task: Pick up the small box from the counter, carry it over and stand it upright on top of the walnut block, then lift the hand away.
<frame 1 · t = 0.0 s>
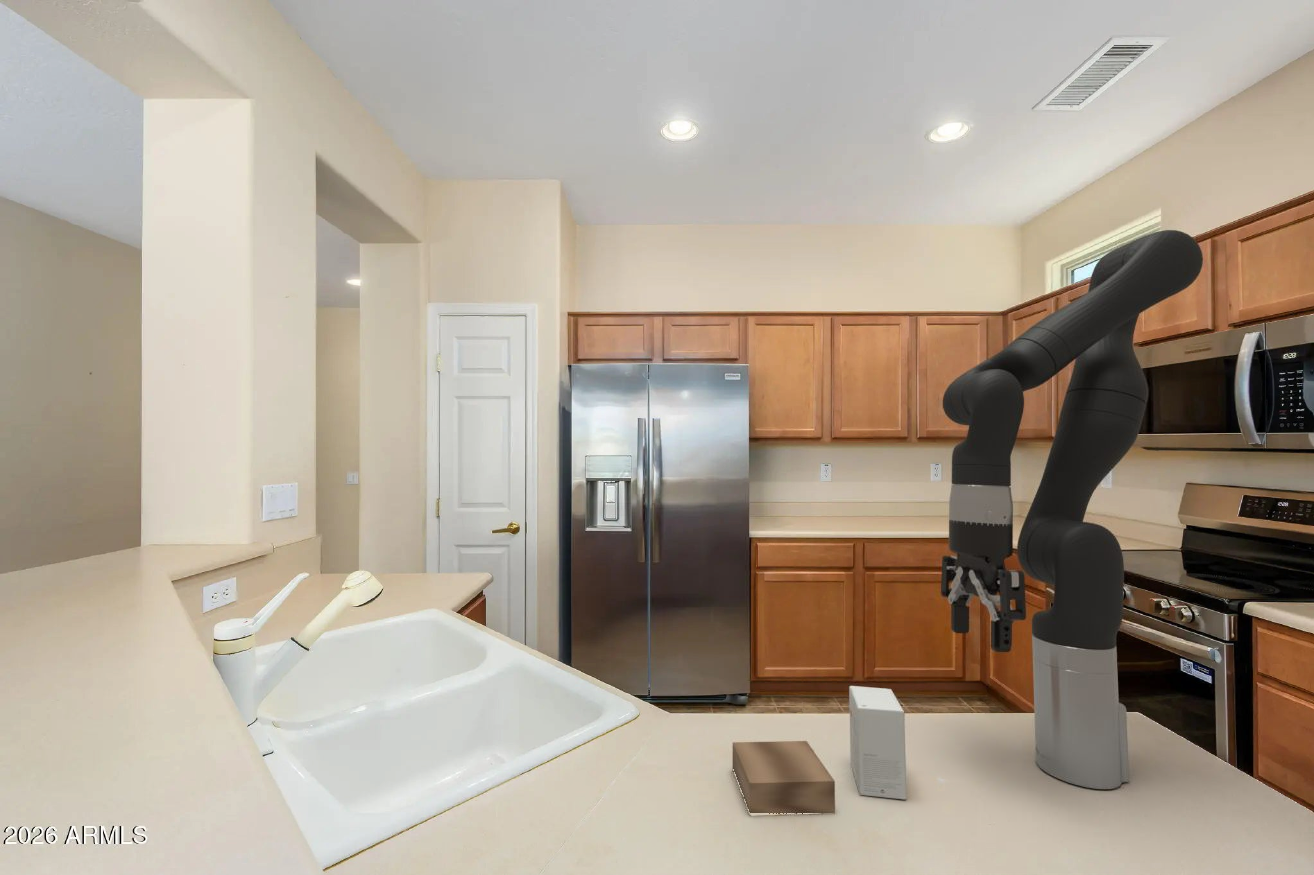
hand: (979, 641, 76), 17 cm above the counter, tool pointing down, fingers open, 8 cm apart
small box: (876, 783, 73), on the counter
walnut block: (780, 793, 71), on the counter
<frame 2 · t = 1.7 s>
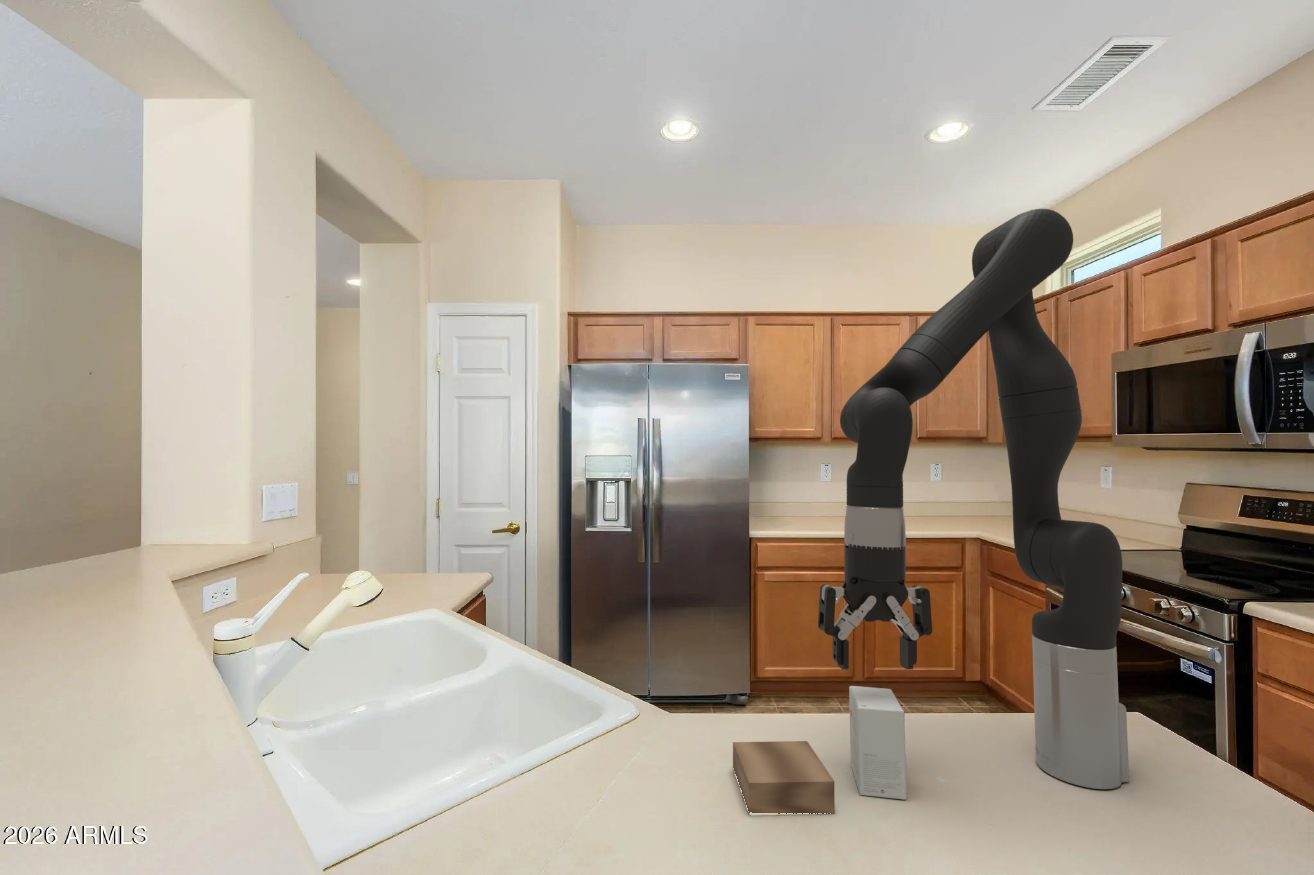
hand: (874, 667, 74), 14 cm above the counter, tool pointing down, fingers open, 8 cm apart
nothing on the counter moved.
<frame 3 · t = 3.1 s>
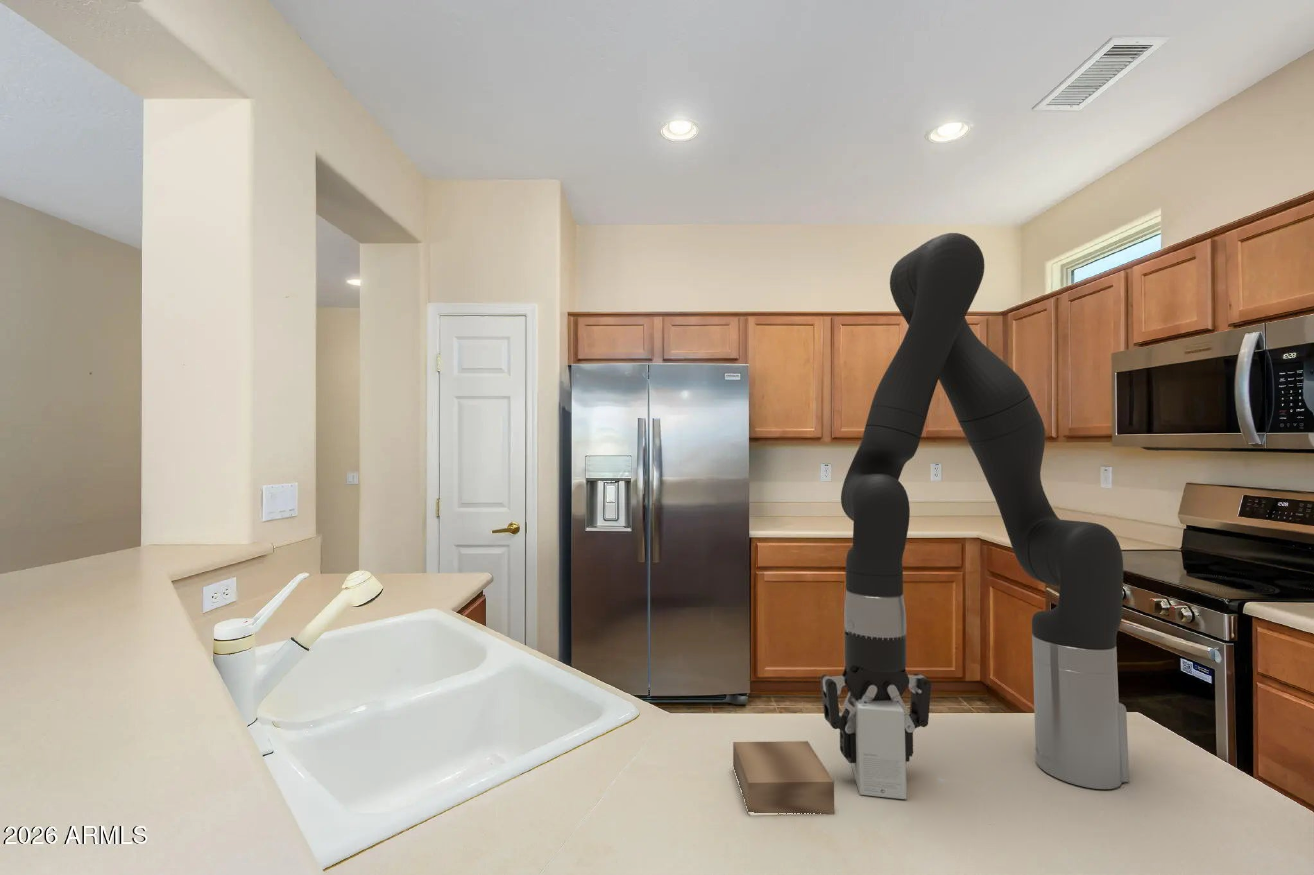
hand: (876, 759, 73), 3 cm above the counter, tool pointing down, fingers closed on small box, 6 cm apart
small box: (876, 783, 73), on the counter, touching gripper
everything else where it was.
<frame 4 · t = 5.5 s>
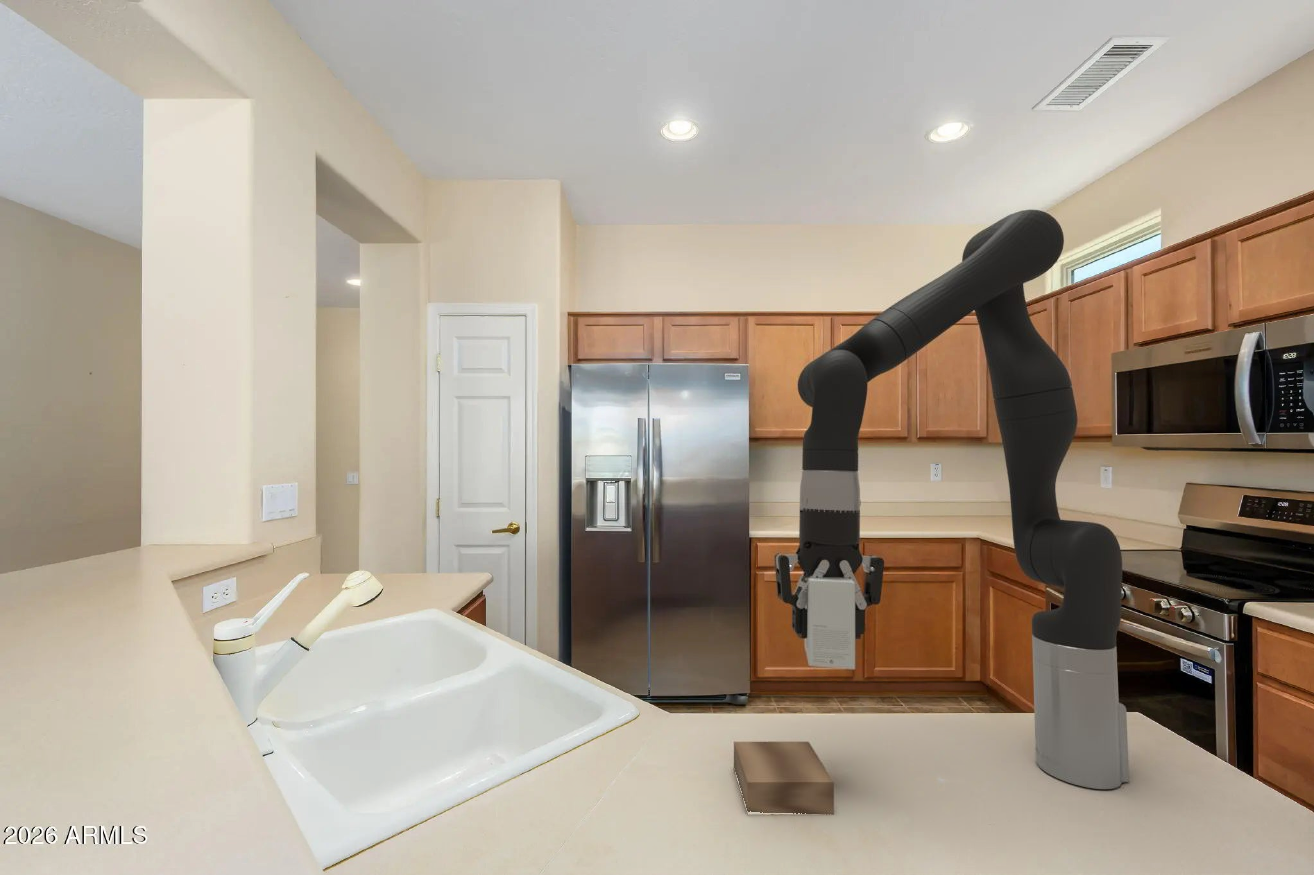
hand: (827, 636, 73), 18 cm above the counter, tool pointing down, fingers closed on small box, 6 cm apart
small box: (828, 660, 73), point 15 cm above the counter, touching gripper
everything else where it was.
when the fingers open (8 cm above the counter, at t = 7.8 s): small box drops 2 cm, resting on walnut block.
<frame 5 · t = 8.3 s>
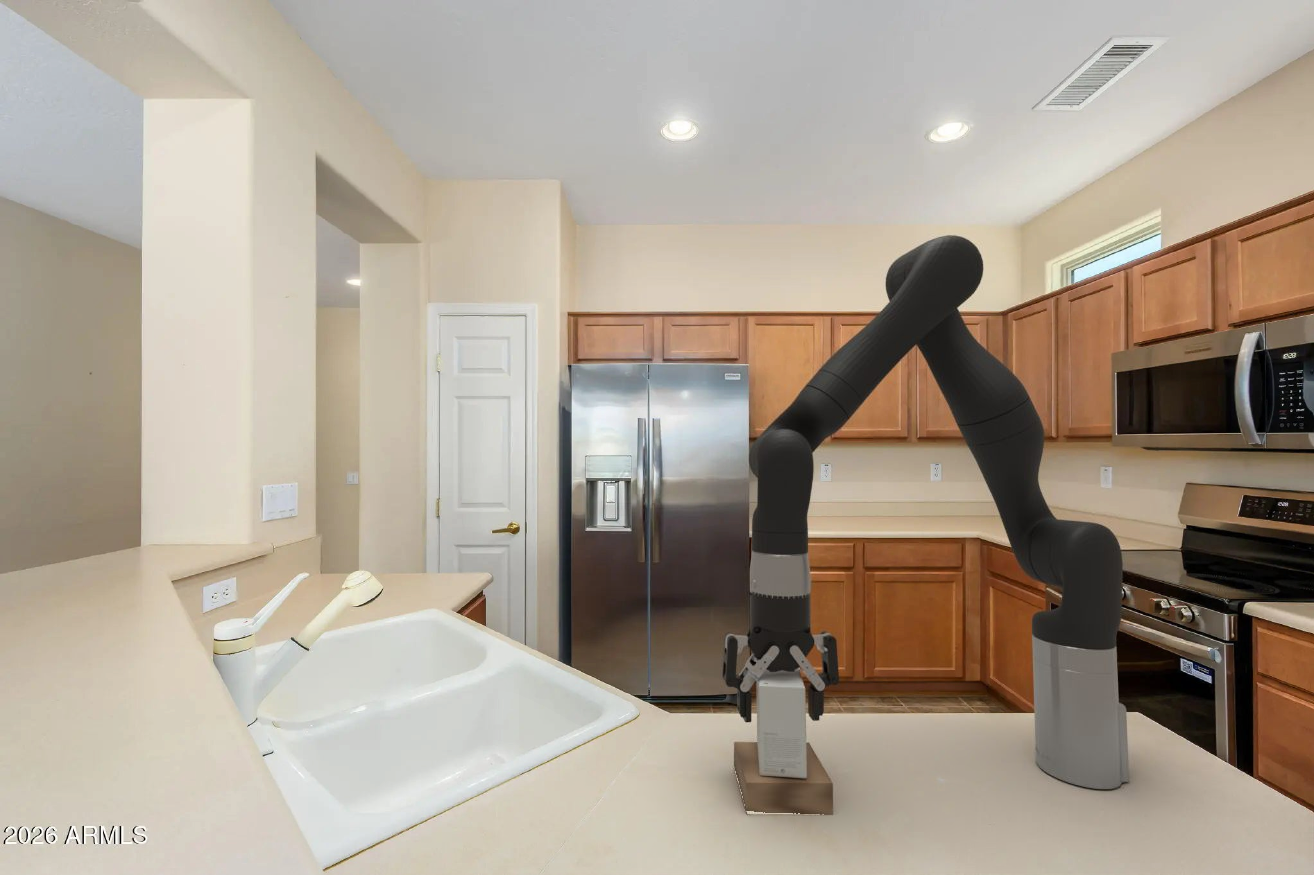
hand: (780, 719, 71), 9 cm above the counter, tool pointing down, fingers open, 8 cm apart
small box: (780, 763, 71), point 3 cm above the counter, touching walnut block
walnut block: (780, 794, 71), on the counter, touching small box
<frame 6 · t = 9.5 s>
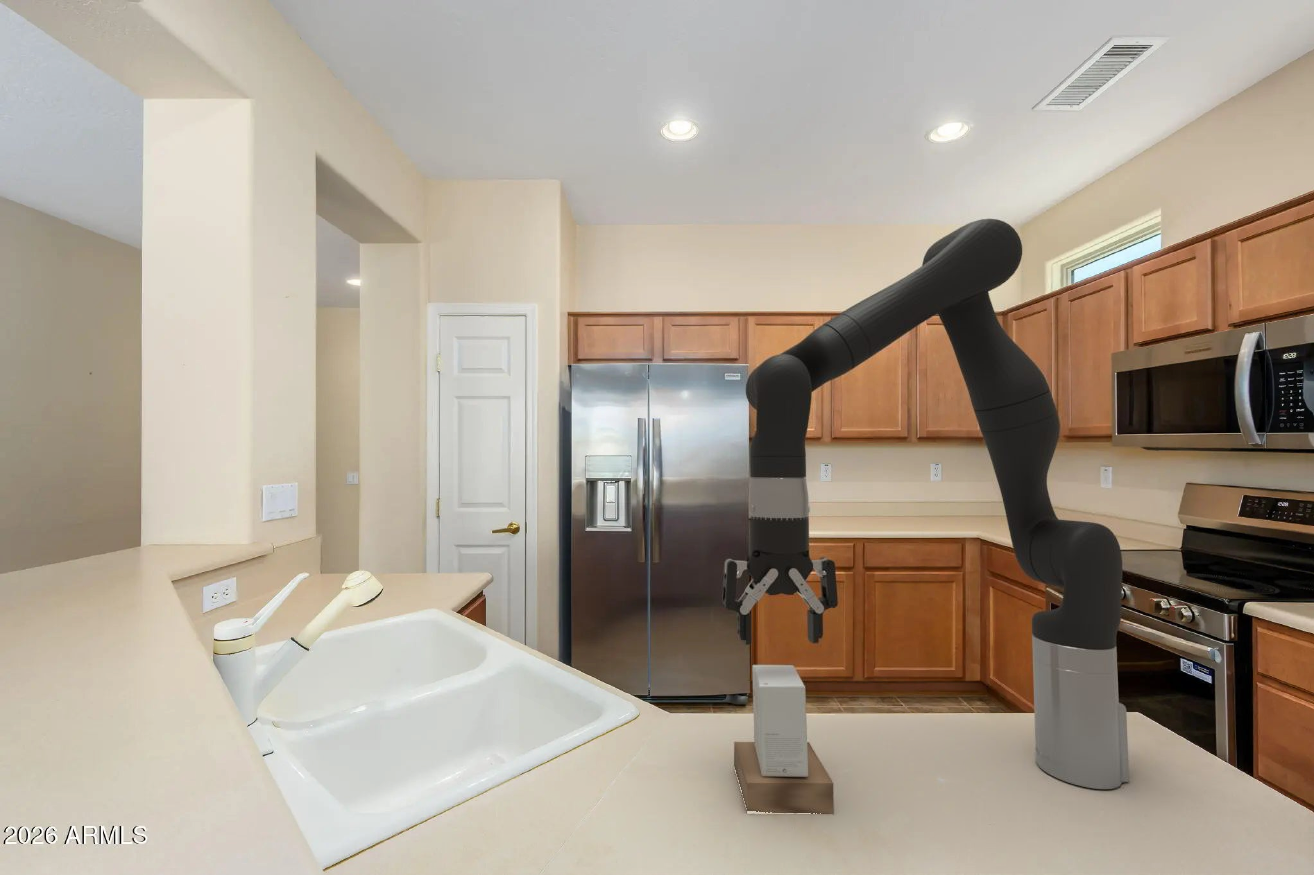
hand: (779, 642, 72), 18 cm above the counter, tool pointing down, fingers open, 8 cm apart
nothing on the counter moved.
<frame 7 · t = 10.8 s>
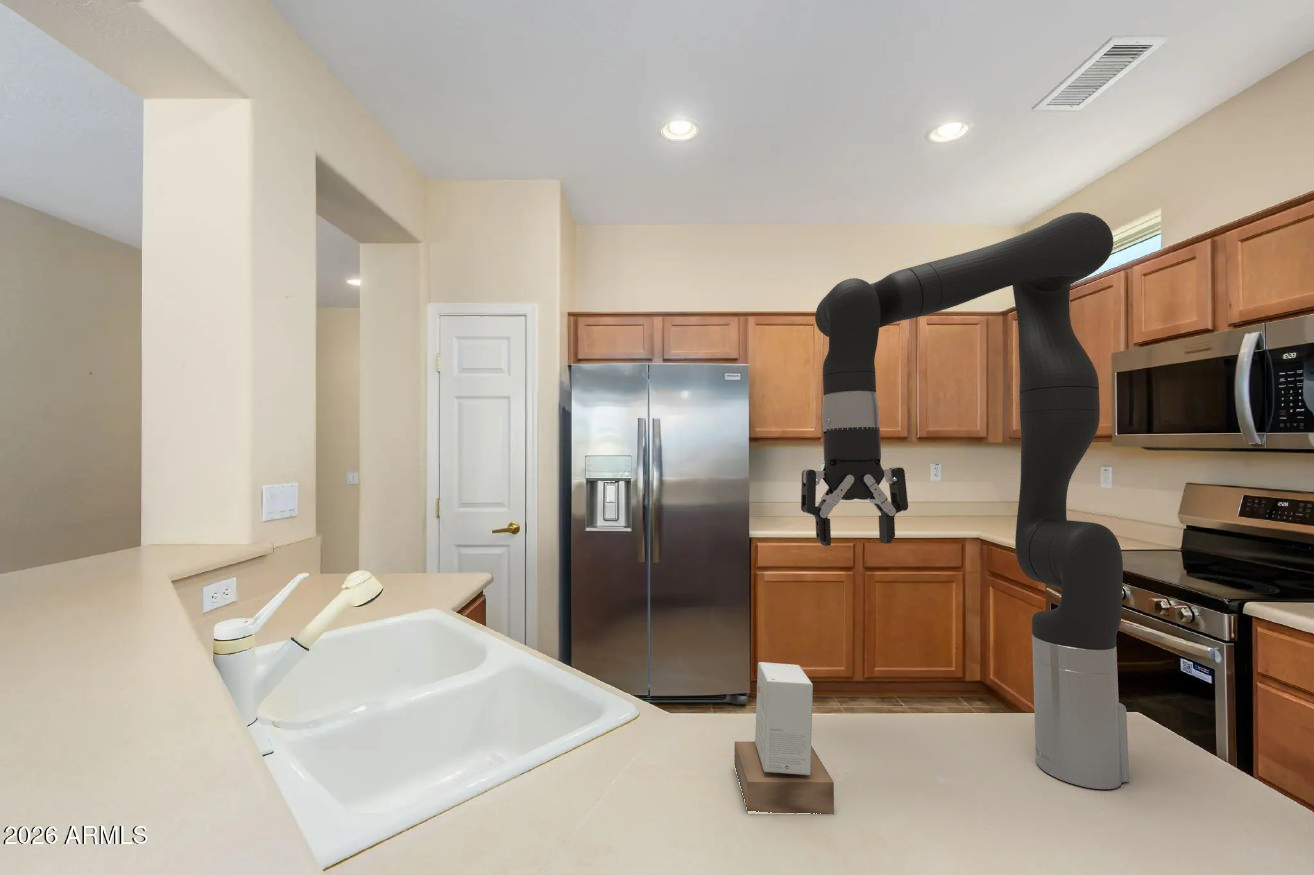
hand: (855, 544, 79), 30 cm above the counter, tool pointing down, fingers open, 8 cm apart
small box: (780, 761, 71), point 4 cm above the counter
walnut block: (780, 793, 71), on the counter
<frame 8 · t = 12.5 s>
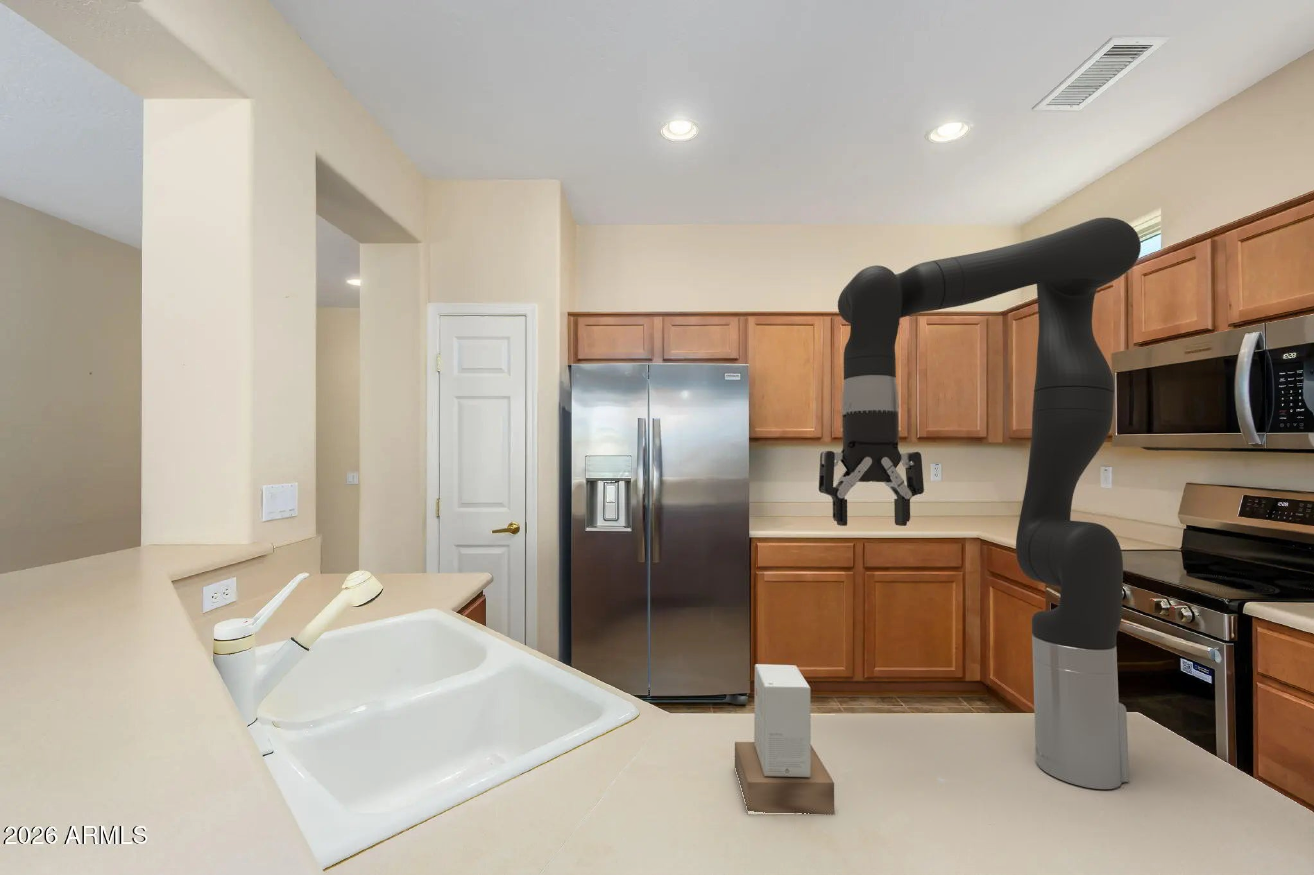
hand: (871, 525, 80), 32 cm above the counter, tool pointing down, fingers open, 8 cm apart
small box: (780, 762, 71), point 3 cm above the counter, touching walnut block
walnut block: (781, 794, 71), on the counter, touching small box
at the end: small box 0.2 cm off-centre on the walnut block, point 3.9 cm above the walnut block's base; small box tilted 1°; the gripper is holding nothing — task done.
